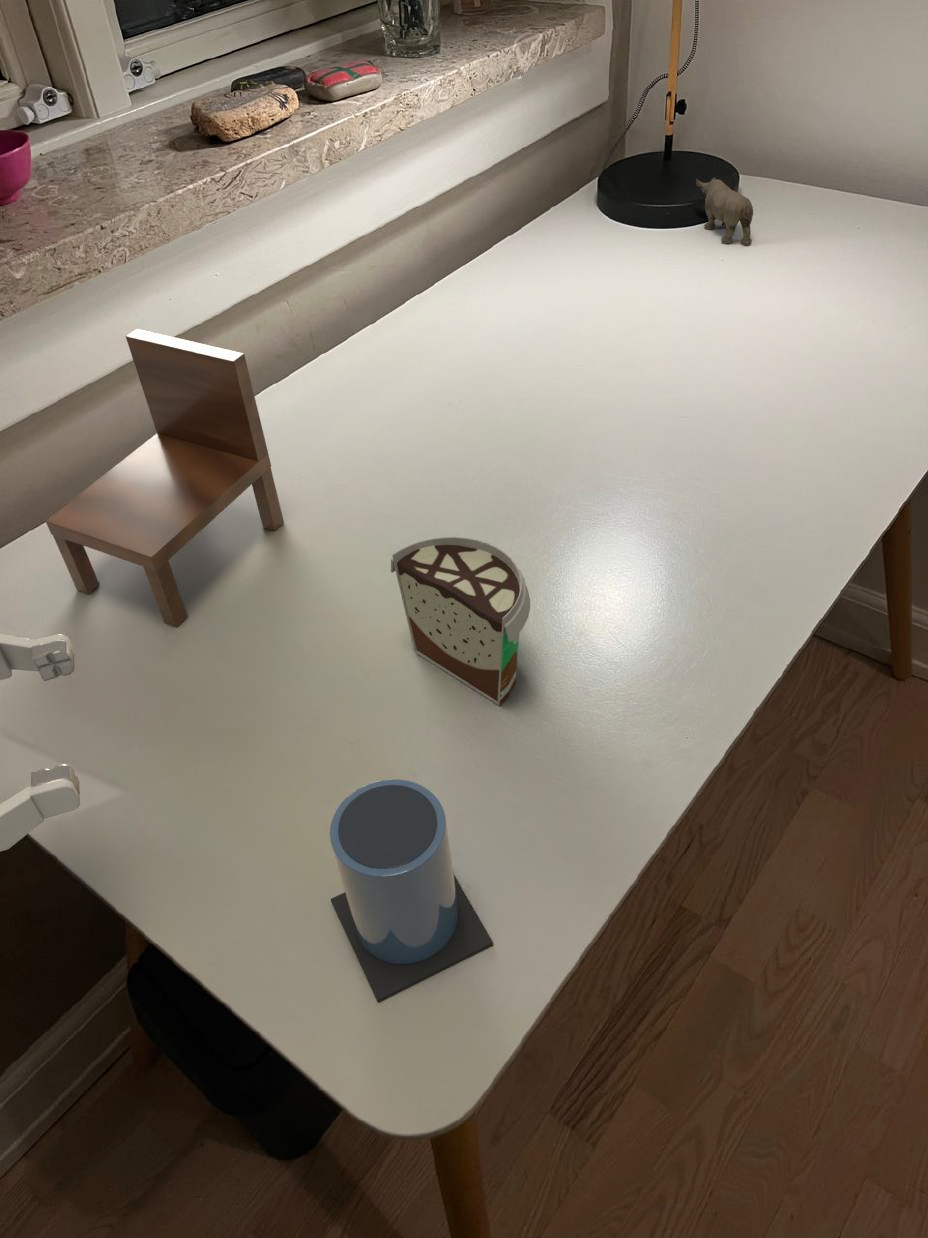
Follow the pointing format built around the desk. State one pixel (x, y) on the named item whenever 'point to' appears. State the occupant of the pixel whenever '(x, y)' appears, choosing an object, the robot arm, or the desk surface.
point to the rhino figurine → (727, 209)
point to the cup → (396, 869)
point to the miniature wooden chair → (173, 467)
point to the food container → (464, 610)
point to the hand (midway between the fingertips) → (73, 714)
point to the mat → (401, 976)
